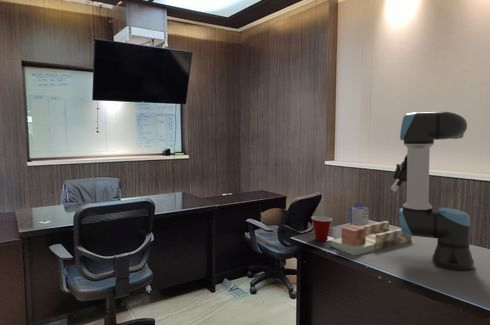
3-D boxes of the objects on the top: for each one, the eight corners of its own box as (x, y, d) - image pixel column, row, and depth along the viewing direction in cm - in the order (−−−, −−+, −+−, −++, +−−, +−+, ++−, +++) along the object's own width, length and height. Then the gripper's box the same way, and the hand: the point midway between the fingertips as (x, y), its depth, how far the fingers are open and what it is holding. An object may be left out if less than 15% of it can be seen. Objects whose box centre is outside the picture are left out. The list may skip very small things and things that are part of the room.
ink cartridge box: (366, 226, 205) (366, 202, 204) (369, 229, 200) (369, 204, 199) (349, 227, 206) (349, 203, 204) (352, 229, 200) (352, 205, 199)
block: (352, 239, 173) (352, 224, 173) (365, 243, 167) (365, 228, 166) (341, 242, 169) (341, 227, 168) (354, 246, 162) (354, 231, 162)
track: (385, 233, 191) (386, 220, 191) (411, 240, 177) (411, 227, 177) (349, 241, 179) (349, 228, 178) (374, 250, 165) (374, 236, 164)
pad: (349, 241, 179) (349, 235, 179) (374, 250, 165) (374, 244, 165) (330, 245, 173) (330, 240, 173) (354, 255, 159) (354, 249, 159)
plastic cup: (335, 241, 179) (335, 219, 178) (315, 243, 178) (315, 220, 177) (327, 235, 190) (327, 214, 189) (308, 237, 188) (308, 215, 187)
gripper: (428, 161, 182) (407, 196, 176) (406, 160, 193) (386, 192, 187) (422, 152, 179) (400, 187, 173) (400, 151, 190) (379, 183, 184)
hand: (393, 189), depth 180 cm, fingers closed
